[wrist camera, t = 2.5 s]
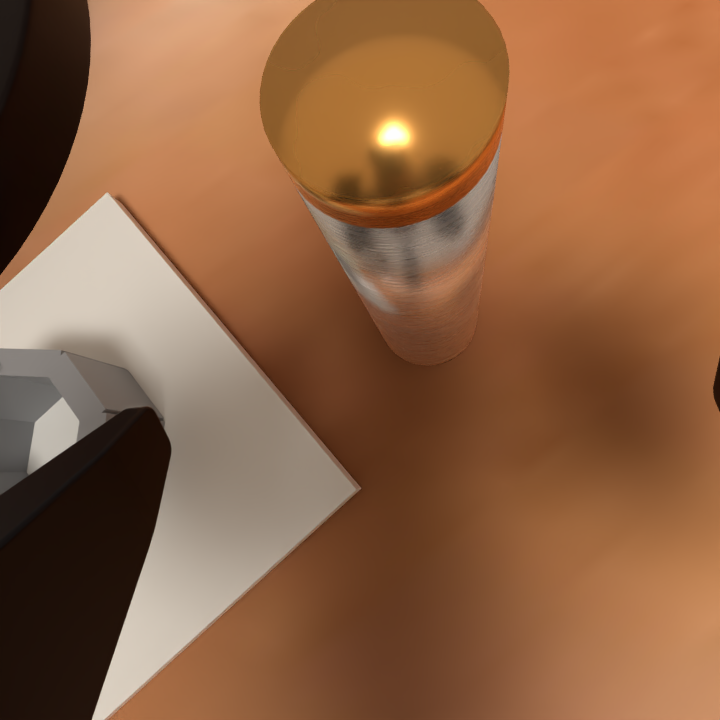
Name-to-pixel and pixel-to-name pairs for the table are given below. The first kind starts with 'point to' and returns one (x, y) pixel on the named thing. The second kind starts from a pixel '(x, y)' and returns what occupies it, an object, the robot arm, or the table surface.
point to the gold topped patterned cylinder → (396, 154)
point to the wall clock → (37, 106)
